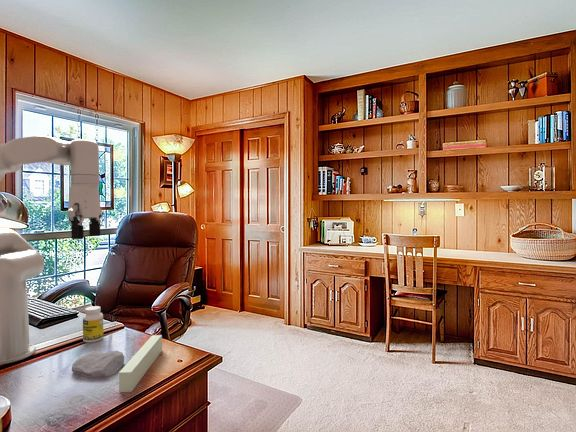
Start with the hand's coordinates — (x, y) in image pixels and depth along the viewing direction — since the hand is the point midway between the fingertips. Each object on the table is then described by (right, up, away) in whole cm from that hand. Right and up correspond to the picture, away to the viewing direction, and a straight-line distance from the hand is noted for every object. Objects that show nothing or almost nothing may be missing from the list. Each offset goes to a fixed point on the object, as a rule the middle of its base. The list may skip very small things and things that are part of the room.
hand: (86, 237), depth 106 cm
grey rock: (+8, -38, -8) cm, 39 cm away
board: (+21, -37, -7) cm, 43 cm away
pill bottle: (-5, -36, +13) cm, 39 cm away
